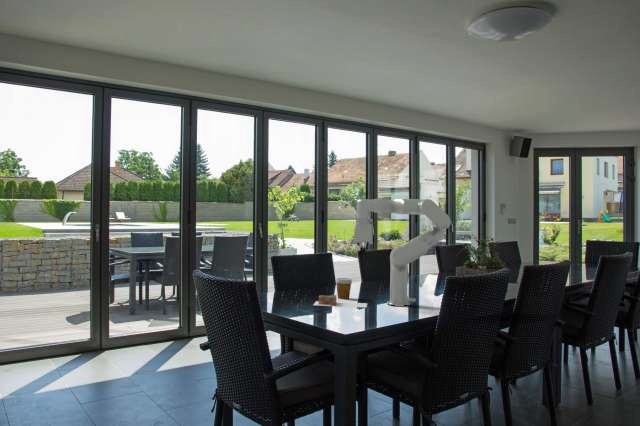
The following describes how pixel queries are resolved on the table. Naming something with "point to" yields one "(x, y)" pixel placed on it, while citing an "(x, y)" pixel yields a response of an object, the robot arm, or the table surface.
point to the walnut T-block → (327, 299)
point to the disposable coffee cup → (343, 287)
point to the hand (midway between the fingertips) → (362, 254)
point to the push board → (343, 304)
